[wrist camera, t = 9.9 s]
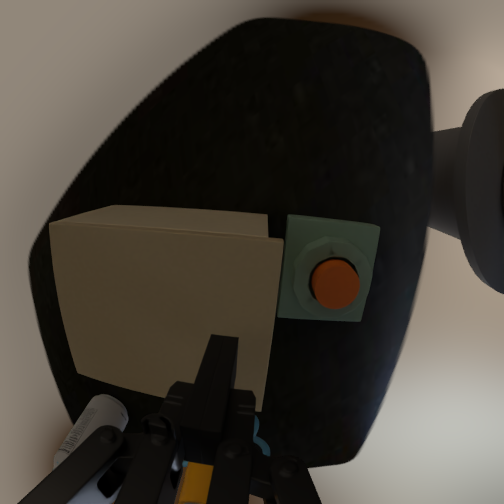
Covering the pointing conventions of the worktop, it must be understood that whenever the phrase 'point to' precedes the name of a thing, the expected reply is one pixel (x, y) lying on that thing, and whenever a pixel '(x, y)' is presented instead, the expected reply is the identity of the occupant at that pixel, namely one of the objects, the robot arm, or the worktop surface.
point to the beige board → (164, 302)
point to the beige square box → (177, 219)
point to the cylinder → (206, 476)
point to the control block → (316, 252)
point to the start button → (335, 284)
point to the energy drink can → (93, 423)
